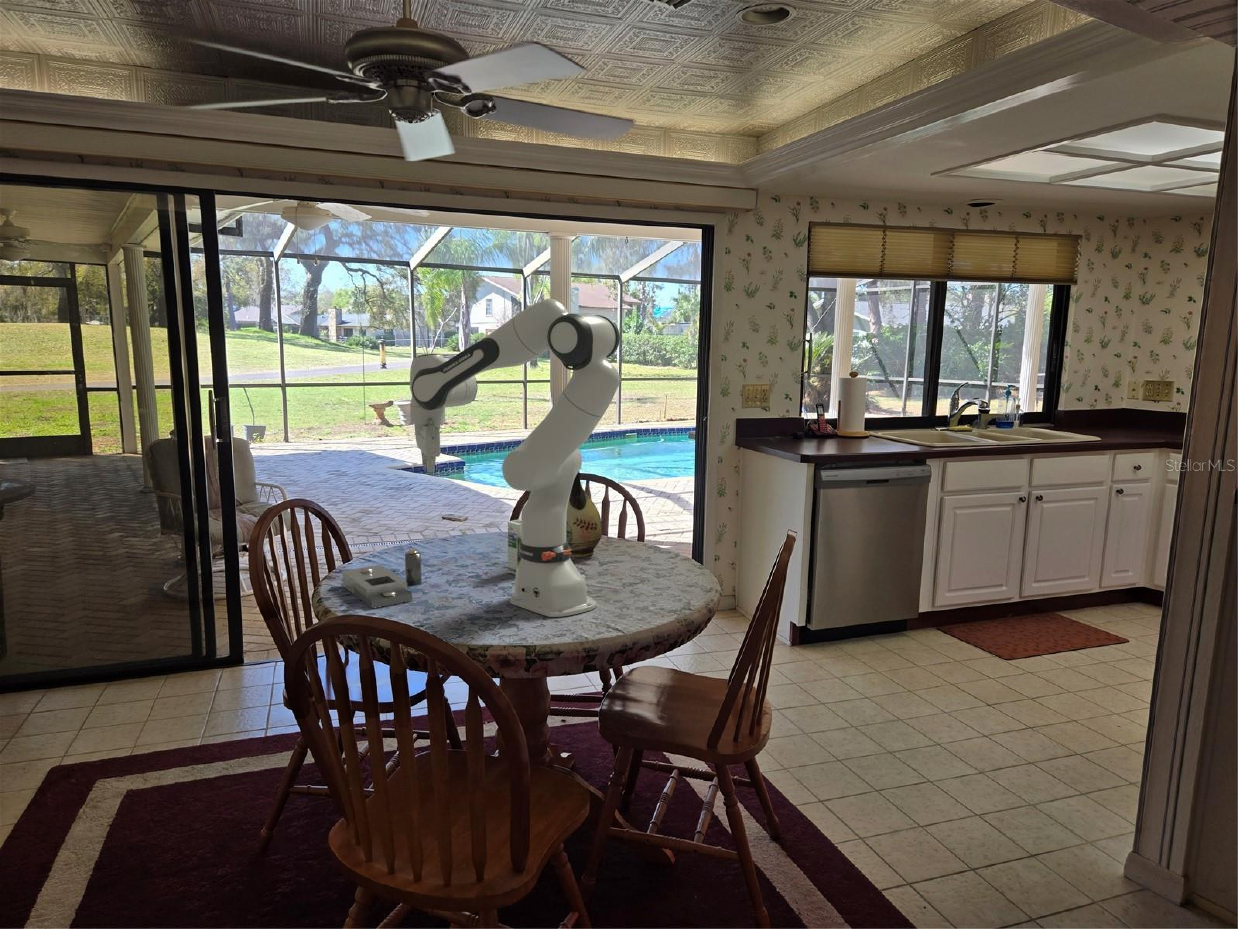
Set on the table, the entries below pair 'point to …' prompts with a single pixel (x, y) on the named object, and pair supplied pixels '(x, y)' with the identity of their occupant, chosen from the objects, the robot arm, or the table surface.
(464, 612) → the table surface
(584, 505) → the ceramic jug
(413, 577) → the pin
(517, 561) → the syrup box
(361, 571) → the outer link end
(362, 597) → the inner link end
